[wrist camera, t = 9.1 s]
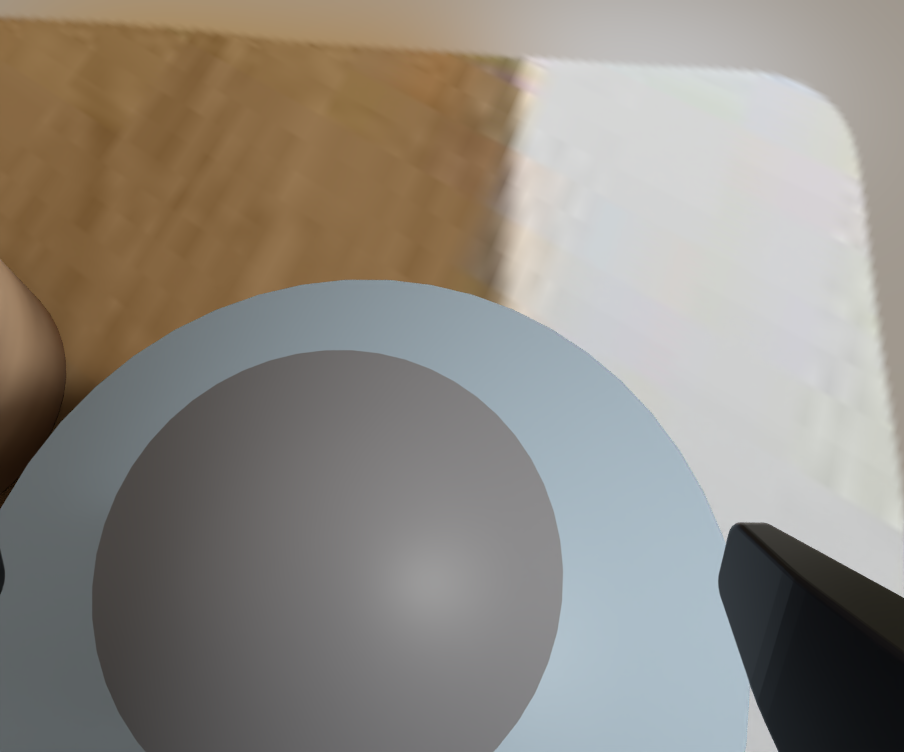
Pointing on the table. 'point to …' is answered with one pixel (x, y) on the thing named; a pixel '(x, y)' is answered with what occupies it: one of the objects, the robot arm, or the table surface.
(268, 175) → the table surface
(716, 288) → the table surface
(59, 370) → the stone
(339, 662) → the lid
